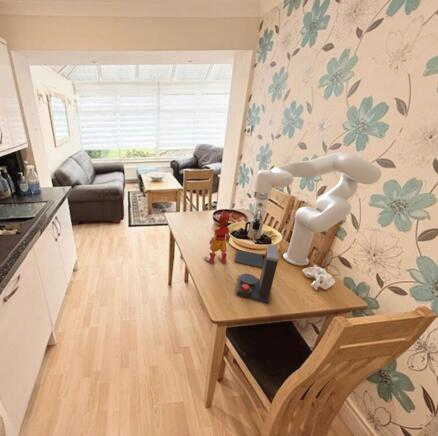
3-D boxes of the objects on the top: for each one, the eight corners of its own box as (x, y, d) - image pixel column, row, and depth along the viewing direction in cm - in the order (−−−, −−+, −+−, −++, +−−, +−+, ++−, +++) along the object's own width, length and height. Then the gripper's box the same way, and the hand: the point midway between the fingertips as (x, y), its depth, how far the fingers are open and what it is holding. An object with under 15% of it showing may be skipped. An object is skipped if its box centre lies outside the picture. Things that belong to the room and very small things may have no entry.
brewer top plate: (237, 250, 145) (237, 249, 145) (262, 255, 140) (263, 254, 139) (235, 262, 133) (235, 261, 133) (262, 268, 128) (262, 267, 128)
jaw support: (343, 289, 108) (330, 275, 107) (324, 298, 111) (311, 285, 110) (330, 273, 119) (318, 260, 117) (313, 282, 122) (301, 270, 121)
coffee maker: (239, 276, 122) (240, 271, 120) (267, 283, 117) (268, 278, 115) (236, 296, 109) (237, 290, 108) (267, 304, 104) (269, 299, 103)
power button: (241, 286, 111) (242, 283, 110) (248, 288, 110) (249, 285, 109) (241, 290, 108) (241, 287, 108) (248, 292, 107) (248, 289, 106)
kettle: (244, 232, 135) (247, 214, 131) (260, 234, 132) (264, 216, 127) (242, 238, 128) (246, 220, 123) (260, 242, 124) (264, 223, 120)
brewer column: (240, 272, 120) (246, 239, 112) (269, 279, 115) (277, 245, 107) (238, 287, 110) (244, 252, 102) (269, 295, 105) (278, 259, 97)
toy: (221, 254, 141) (227, 207, 129) (230, 262, 133) (238, 213, 121) (203, 257, 138) (208, 209, 126) (211, 266, 130) (217, 216, 118)
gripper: (270, 201, 112) (263, 234, 119) (269, 191, 127) (263, 221, 134) (253, 199, 115) (247, 231, 122) (254, 189, 129) (249, 219, 137)
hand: (255, 226), depth 128 cm, fingers closed on kettle, 6 cm apart
